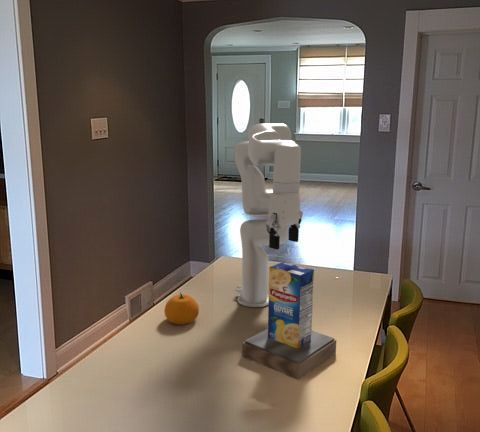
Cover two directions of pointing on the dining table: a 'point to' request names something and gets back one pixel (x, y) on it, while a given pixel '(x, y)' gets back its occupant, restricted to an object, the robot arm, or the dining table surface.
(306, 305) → the beverage box
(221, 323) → the dining table surface
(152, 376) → the dining table surface
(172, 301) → the fruit
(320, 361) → the podium
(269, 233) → the robot arm
